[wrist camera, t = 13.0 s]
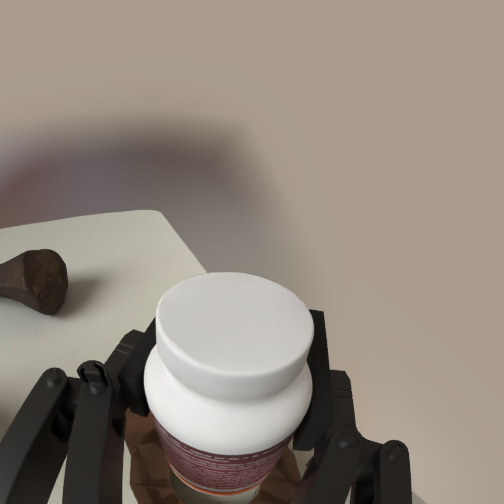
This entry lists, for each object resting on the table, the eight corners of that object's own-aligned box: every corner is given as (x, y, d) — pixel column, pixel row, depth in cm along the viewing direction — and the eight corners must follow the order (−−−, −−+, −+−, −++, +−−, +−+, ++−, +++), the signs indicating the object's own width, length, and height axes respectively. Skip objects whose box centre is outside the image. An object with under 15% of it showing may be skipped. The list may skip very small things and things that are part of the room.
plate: (322, 501, 16) (332, 496, 15) (179, 565, 9) (176, 568, 7) (211, 357, 32) (211, 343, 31) (101, 383, 25) (95, 370, 24)
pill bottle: (293, 470, 12) (382, 344, 7) (195, 512, 9) (171, 443, 4) (240, 399, 16) (266, 252, 12) (152, 426, 13) (115, 274, 8)
